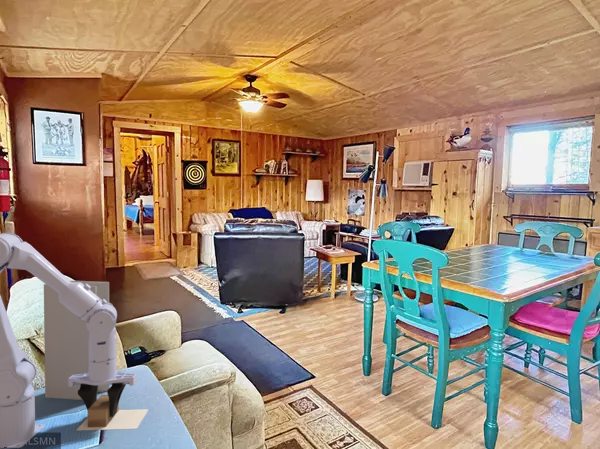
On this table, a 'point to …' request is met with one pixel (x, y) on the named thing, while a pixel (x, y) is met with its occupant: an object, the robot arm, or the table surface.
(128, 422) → the beige board
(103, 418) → the walnut block
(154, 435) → the table surface
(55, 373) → the tall grey box
